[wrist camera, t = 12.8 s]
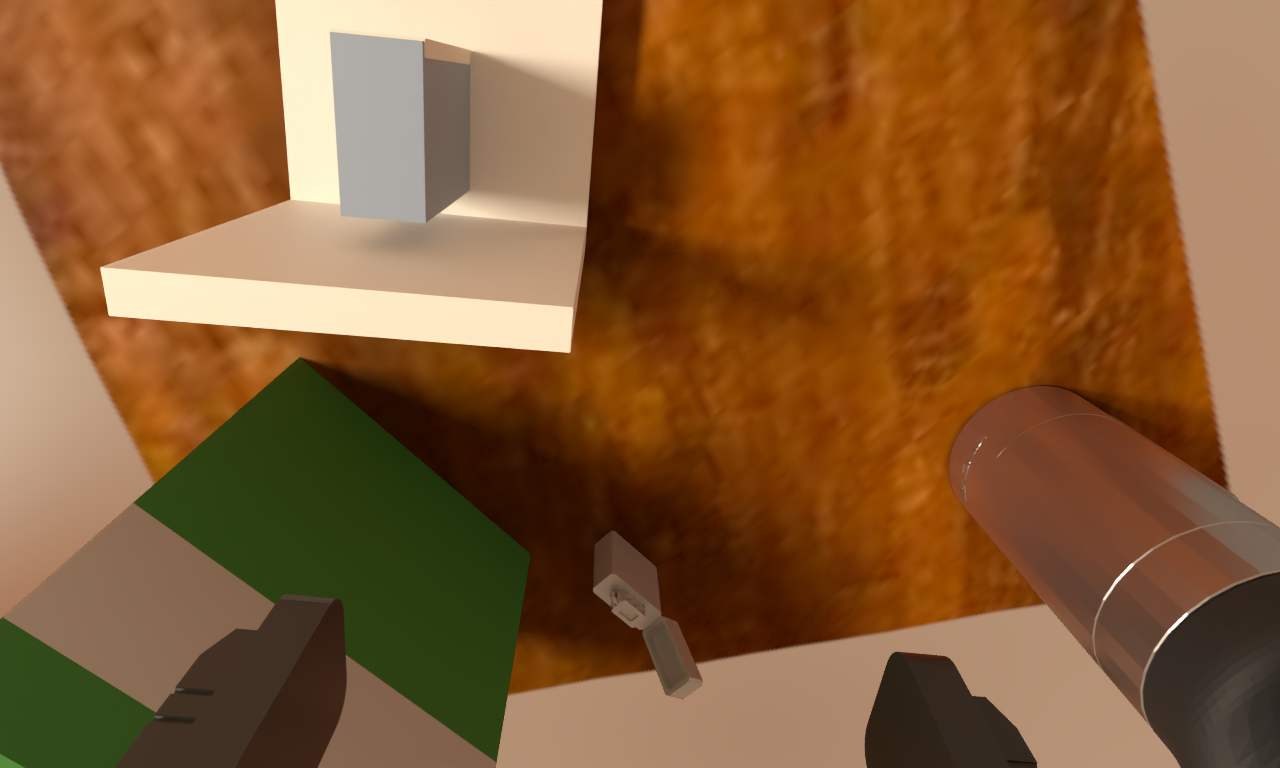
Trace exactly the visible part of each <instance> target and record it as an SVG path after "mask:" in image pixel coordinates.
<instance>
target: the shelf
mask: <svg viewBox="0 0 1280 768" xmlns="http://www.w3.org/2000/svg"><path fill="white" fill-rule="evenodd" d="M275 1H276V13H277V26H278V39H279V52H280V65H281V78H282V91H283V104H284V116H285V129H286V142H287V155H288V168H289V181H290V194H291V200H288V201H285V202H283V203H280V204H277V205H274V206H271V207H269V208H266V209H263V210H260V211H257V212H254V213H252V214H249V215H246V216H243V217H240V218H238V219H235V220H232V221H229V222H226V223H224V224H221V225H218V226H215V227H212V228H209V229H207V230H204V231H201V232H198V233H195V234H193V235H190V236H187V237H184V238H181V239H179V240H176V241H173V242H170V243H167V244H164V245H162V246H159V247H156V248H153V249H150V250H148V251H145V252H142V253H139V254H136V255H134V256H131V257H128V258H125V259H122V260H119V261H117V262H114V263H111V264H108V265H105V266H103V267H100V268H101V274H102V279H103V285H104V291H105V296H106V302H107V307H108V313H109V316H118V317H131V318H143V319H156V320H168V321H180V322H193V323H205V324H218V325H230V326H243V327H255V328H268V329H280V330H293V331H305V332H318V333H330V334H343V335H355V336H368V337H380V338H393V339H405V340H418V341H430V342H442V343H455V344H467V345H480V346H492V347H505V348H517V349H530V350H542V351H555V352H567V353H570V351H571V344H572V337H573V330H574V323H575V316H576V310H577V303H578V296H579V289H580V282H581V275H582V268H583V261H584V255H585V246H586V232H587V219H588V205H589V191H590V177H591V163H592V149H593V135H594V121H595V107H596V93H597V79H598V65H599V52H600V38H601V24H602V10H603V0H275ZM330 29H339V30H349V31H359V32H369V33H378V34H388V35H398V36H408V37H418V38H426V39H430V40H434V41H438V42H441V43H445V44H449V45H453V46H457V47H460V48H464V49H468V50H471V65H470V191H468V192H467V193H466V194H464V195H463V196H461V197H460V198H459V199H457V200H456V201H455V202H453V203H452V204H451V205H449V206H448V207H447V208H445V209H444V210H443V211H441V212H440V213H439V214H437V215H436V216H435V217H433V218H432V219H431V220H429V221H428V222H427V223H418V222H406V221H394V220H382V219H370V218H358V217H346V216H341V210H340V194H339V178H338V161H337V145H336V128H335V112H334V96H333V79H332V63H331V46H330Z"/></svg>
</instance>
